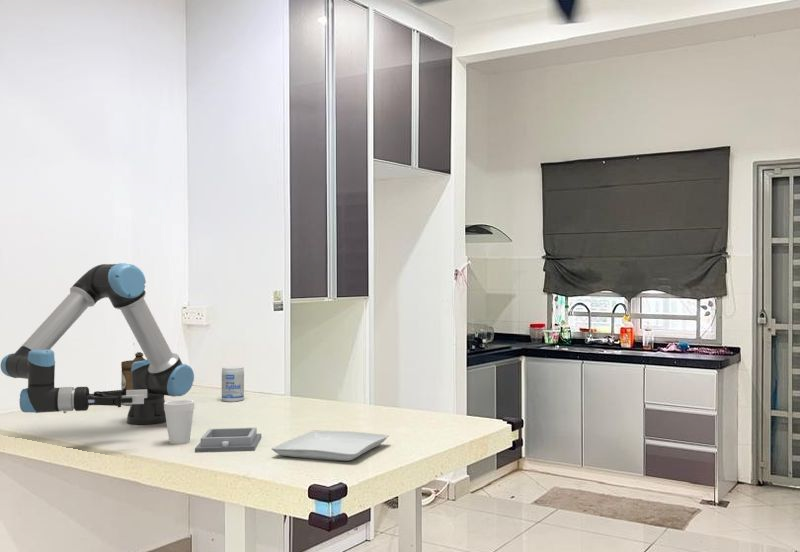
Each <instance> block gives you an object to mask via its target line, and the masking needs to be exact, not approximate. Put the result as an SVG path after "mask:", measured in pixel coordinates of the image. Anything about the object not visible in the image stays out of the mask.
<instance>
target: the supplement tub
mask: <svg viewBox="0 0 800 552" xmlns="http://www.w3.org/2000/svg"><path fill="white" fill-rule="evenodd" d="M244 397H245V369H244V366H243V365H242V366H241V365H230V366H229V365H227V366H222V368H221V401H223V402H229V403H234V402H242V401H243V400H244V399H245V398H244Z"/></svg>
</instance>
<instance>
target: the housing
mask: <svg viewBox="0 0 800 552" xmlns="http://www.w3.org/2000/svg"><path fill="white" fill-rule="evenodd" d="M257 430H258V429H257V427H256V426H255V427H229V428H227V427H225V428H222V427H221V428H209V429H208V430H207V431H206V432H205V433H204V434H203V435H202V436H201V437H200V442H199V443H198V444H197V445H196V447H195V448H194V453H214V452H215V453H218V452H250V451H252V452H254V451H256V448H257V446H258V444H260V441H261V439H262V433H257Z"/></svg>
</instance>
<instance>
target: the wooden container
mask: <svg viewBox="0 0 800 552" xmlns="http://www.w3.org/2000/svg"><path fill="white" fill-rule="evenodd" d="M134 356H135V357H134V358H133V359H132V360H124V361H121V363H120V364H121V365H120V366H121V383H120V384H121V389H120V390H122V389H123V388H126V390H132V380H131V369H132V364H133V363H134V362H137V361H145V360H146V358H144V352H139V351H137V352H136V353H135V354H134ZM126 406H131V404H127V405H126Z"/></svg>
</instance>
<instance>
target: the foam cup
mask: <svg viewBox="0 0 800 552" xmlns="http://www.w3.org/2000/svg"><path fill="white" fill-rule="evenodd" d="M194 410H195V401H194V400H193V399H192V400H190V399H176V400H169V401H165V403H164V411H165V415H166V421H165V423H166V427H167V428H166V429H167V434H168V435H167V436H168V442H169V444H171V445H182V444H183V445H184V444H187V443H190V440H191V434H192V433H191V432H192V425H193V424H192V423H193V416H194Z"/></svg>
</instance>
